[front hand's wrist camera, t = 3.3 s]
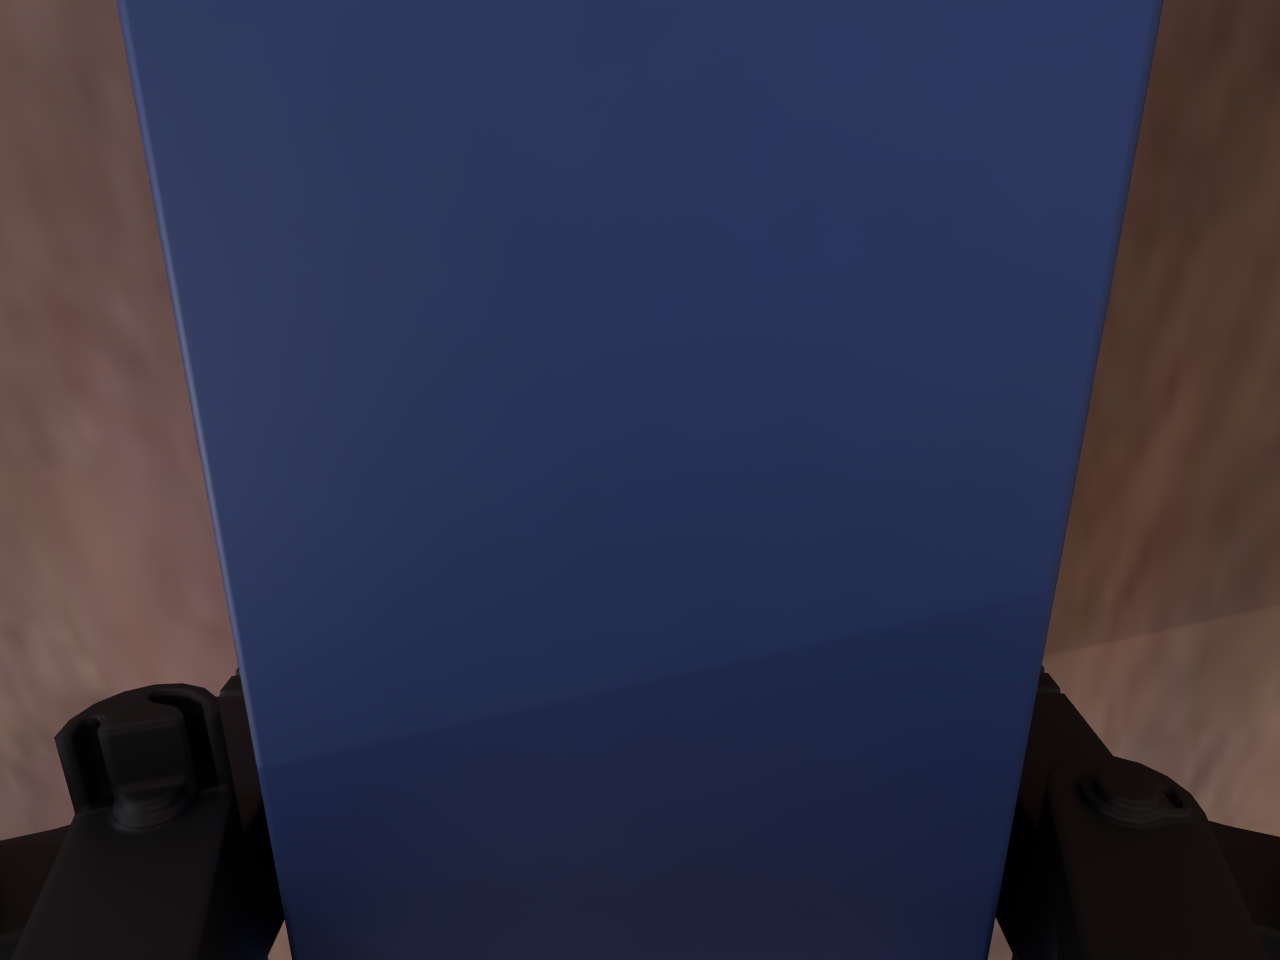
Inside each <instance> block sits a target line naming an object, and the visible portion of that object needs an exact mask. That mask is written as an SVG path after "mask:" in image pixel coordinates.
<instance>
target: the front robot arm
mask: <svg viewBox="0 0 1280 960" xmlns="http://www.w3.org/2000/svg"><path fill="white" fill-rule="evenodd" d="M54 739H55V742H56V746H57V750H58V753H59V757H60V760H61V764H62V768H63V771H64V775H65V778H66V782H67V786H68V789H69V793H70V797H71V800H72V804H73V807H74V811H75V816H74V818H73V821H72V823H71V825H67V826H64V827H60V828H57V829H53V830H49V831H44V832H39V833H35V834H30V835H25V836H21V837H16V838H11V839H7V840H2V841H0V960H268V954H269V952H270V950H271V948H272V945H273V943H274V941H275V939H276V937H277V935H278V933H279V930H280V928H281V926H282V924H283V922H284V920H285V917H284V912H283V906H282V901H281V896H280V890H279V885H278V879H277V874H276V868H275V863H274V857H273V852H272V846H271V841H270V835H269V830H268V825H267V819H266V814H265V808H264V803H263V797H262V792H261V786H260V781H259V775H258V770H257V764H256V759H255V754H254V748H253V743H252V737H251V732H250V726H249V721H248V715H247V710H246V704H245V699H244V693H243V688H242V683H241V677H240V672H239V668H238V669H237V670H236V675H235V676H232V677H231V678H230V679H229V681H228V682H227V683H226V684H225V686H224V687H223V688H222V689H221V691H220V696H219V697H215V696H214V695H213V694H211V693H210V692H209V691H208V690H206V689H205V688H202V687H198V686H193V685H188V684H183V683H179V684H157V685H151V686H147V687H142V688H138V689H134V690H129V691H125V692H122V693H120V694H117V695H115V696H112V697H110V698H107V699H105V700H103V701H100V702H98V703H95V704H93V705H92V706H90V707H89V708H87V709H86V710H84V711H83V712H81V713H80V714H78V715H76V716H75V717H73V718H72V719H70V720H69V721H68V722H67V724H66V725H65V726H64V727H63V728H62V729H61V731H60V732H59V733H58V734H57V735H56V736H55V737H54ZM995 917H996V919H997V921H998V923H999V925H1000V927H1001V929H1002V932H1003V934H1004V936H1005V938H1006V940H1007V942H1008V944H1009V947H1010V949H1011V951H1012V953H1013V955H1012V960H1280V837H1278V836H1273V835H1268V834H1263V833H1259V832H1254V831H1249V830H1245V829H1240V828H1235V827H1230V826H1226V825H1223V824H1219V823H1215V822H1212V821H1208V819H1207V817H1206V814H1205V813H1204V811H1203V810H1202V809H1201V807H1200V806H1199V804H1198V803H1197V802H1196V800H1195V799H1194V798H1193V796H1192V795H1191V794H1190V793H1189V792H1188V791H1186V790H1185V789H1184V788H1182V787H1181V786H1180V785H1178V784H1177V783H1176V782H1174V781H1173V780H1172V779H1170V778H1169V777H1168V776H1166V775H1164V774H1162V773H1159V772H1157V771H1155V770H1153V769H1151V768H1149V767H1147V766H1145V765H1142V764H1140V763H1138V762H1134V761H1130V760H1126V759H1122V758H1119V757H1115V756H1113V755H1112V754H1111V753H1110V751H1109V750H1108V749H1107V747H1106V746H1105V745H1104V744H1103V742H1102V741H1101V740H1100V739H1099V737H1098V736H1097V735H1096V733H1095V732H1094V731H1093V730H1092V728H1091V727H1090V726H1089V725H1088V723H1087V722H1086V721H1085V719H1084V718H1083V717H1082V716H1081V714H1080V713H1079V712H1078V711H1077V709H1076V708H1075V707H1074V705H1073V704H1072V703H1071V702H1070V700H1069V699H1068V698H1067V697H1066V695H1065V694H1061V693H1060V688H1059V686H1058V685H1057V684H1056V683H1055V681H1054V680H1053V679H1052V678H1051V676H1050V675H1049V674H1048V673H1045V672H1044V667H1043V666H1042V665H1041V670H1040V676H1039V681H1038V687H1037V692H1036V698H1035V703H1034V708H1033V714H1032V719H1031V725H1030V730H1029V736H1028V741H1027V747H1026V752H1025V758H1024V763H1023V769H1022V774H1021V779H1020V785H1019V790H1018V796H1017V801H1016V807H1015V812H1014V818H1013V823H1012V829H1011V834H1010V840H1009V845H1008V850H1007V856H1006V861H1005V867H1004V872H1003V878H1002V883H1001V889H1000V894H999V900H998V905H997V910H996V916H995Z"/></svg>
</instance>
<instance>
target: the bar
mask: <svg viewBox="0 0 1280 960" xmlns="http://www.w3.org/2000/svg"><path fill="white" fill-rule="evenodd" d="M1162 4H1163V0H117V5H118V11H119V16H120V22H121V27H122V33H123V38H124V44H125V49H126V55H127V60H128V65H129V71H130V76H131V82H132V87H133V93H134V98H135V104H136V109H137V115H138V120H139V126H140V131H141V136H142V142H143V147H144V153H145V158H146V164H147V169H148V175H149V180H150V186H151V191H152V197H153V202H154V207H155V213H156V218H157V224H158V229H159V235H160V240H161V246H162V251H163V257H164V262H165V268H166V273H167V278H168V284H169V289H170V295H171V300H172V306H173V311H174V317H175V322H176V328H177V333H178V339H179V344H180V349H181V355H182V360H183V366H184V371H185V377H186V382H187V388H188V393H189V399H190V404H191V410H192V415H193V420H194V426H195V431H196V437H197V442H198V448H199V453H200V459H201V464H202V470H203V475H204V481H205V486H206V491H207V497H208V502H209V508H210V513H211V519H212V524H213V530H214V535H215V541H216V546H217V552H218V557H219V562H220V568H221V573H222V579H223V584H224V590H225V595H226V601H227V606H228V612H229V617H230V622H231V628H232V633H233V639H234V644H235V650H236V655H237V661H238V666H239V672H240V677H241V683H242V688H243V693H244V699H245V704H246V710H247V715H248V721H249V726H250V732H251V737H252V743H253V748H254V754H255V759H256V764H257V770H258V775H259V781H260V786H261V792H262V797H263V803H264V808H265V814H266V819H267V825H268V830H269V835H270V841H271V846H272V852H273V857H274V863H275V868H276V874H277V879H278V885H279V890H280V896H281V901H282V906H283V912H284V917H285V923H286V928H287V934H288V939H289V945H290V950H291V956H292V960H988V954H989V949H990V943H991V938H992V932H993V927H994V921H995V916H996V910H997V905H998V900H999V894H1000V889H1001V883H1002V878H1003V872H1004V867H1005V861H1006V856H1007V850H1008V845H1009V840H1010V834H1011V829H1012V823H1013V818H1014V812H1015V807H1016V801H1017V796H1018V790H1019V785H1020V779H1021V774H1022V769H1023V763H1024V758H1025V752H1026V747H1027V741H1028V736H1029V730H1030V725H1031V719H1032V714H1033V708H1034V703H1035V698H1036V692H1037V687H1038V681H1039V676H1040V670H1041V665H1042V659H1043V654H1044V648H1045V643H1046V638H1047V632H1048V627H1049V621H1050V616H1051V610H1052V605H1053V599H1054V594H1055V588H1056V583H1057V577H1058V572H1059V567H1060V561H1061V556H1062V550H1063V545H1064V539H1065V534H1066V528H1067V523H1068V517H1069V512H1070V507H1071V501H1072V496H1073V490H1074V485H1075V479H1076V474H1077V468H1078V463H1079V457H1080V452H1081V446H1082V441H1083V436H1084V430H1085V425H1086V419H1087V414H1088V408H1089V403H1090V397H1091V392H1092V386H1093V381H1094V375H1095V370H1096V365H1097V359H1098V354H1099V348H1100V343H1101V337H1102V332H1103V326H1104V321H1105V315H1106V310H1107V305H1108V299H1109V294H1110V288H1111V283H1112V277H1113V272H1114V266H1115V261H1116V255H1117V250H1118V244H1119V239H1120V234H1121V228H1122V223H1123V217H1124V212H1125V206H1126V201H1127V195H1128V190H1129V184H1130V179H1131V173H1132V168H1133V163H1134V157H1135V152H1136V146H1137V141H1138V135H1139V130H1140V124H1141V119H1142V113H1143V108H1144V103H1145V97H1146V92H1147V86H1148V81H1149V75H1150V70H1151V64H1152V59H1153V53H1154V48H1155V42H1156V37H1157V32H1158V26H1159V21H1160V15H1161V10H1162Z"/></svg>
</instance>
